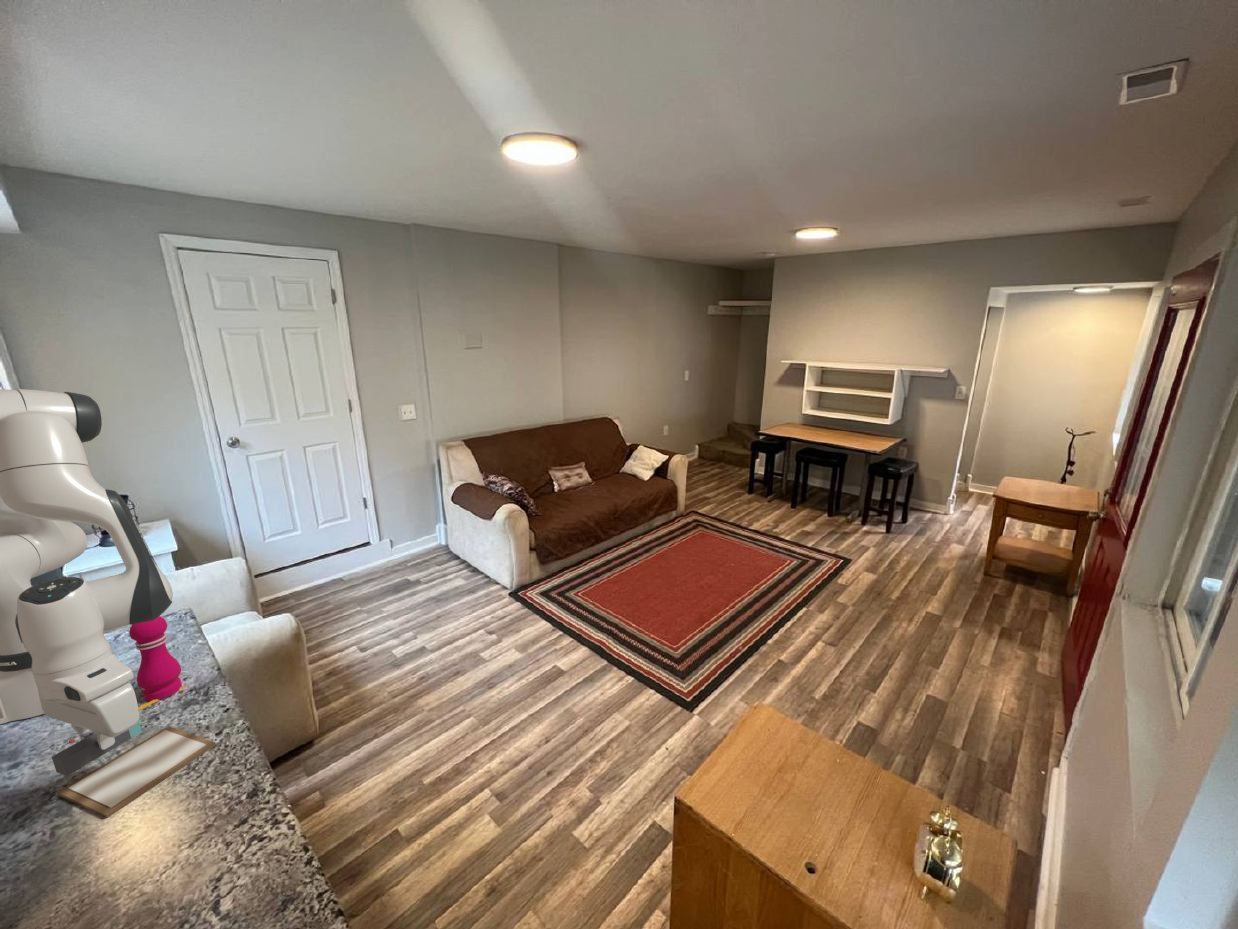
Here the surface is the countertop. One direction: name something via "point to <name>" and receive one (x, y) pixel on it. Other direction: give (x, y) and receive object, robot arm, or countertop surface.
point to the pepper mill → (155, 660)
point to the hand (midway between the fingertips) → (98, 743)
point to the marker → (87, 751)
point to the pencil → (138, 708)
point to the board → (135, 771)
